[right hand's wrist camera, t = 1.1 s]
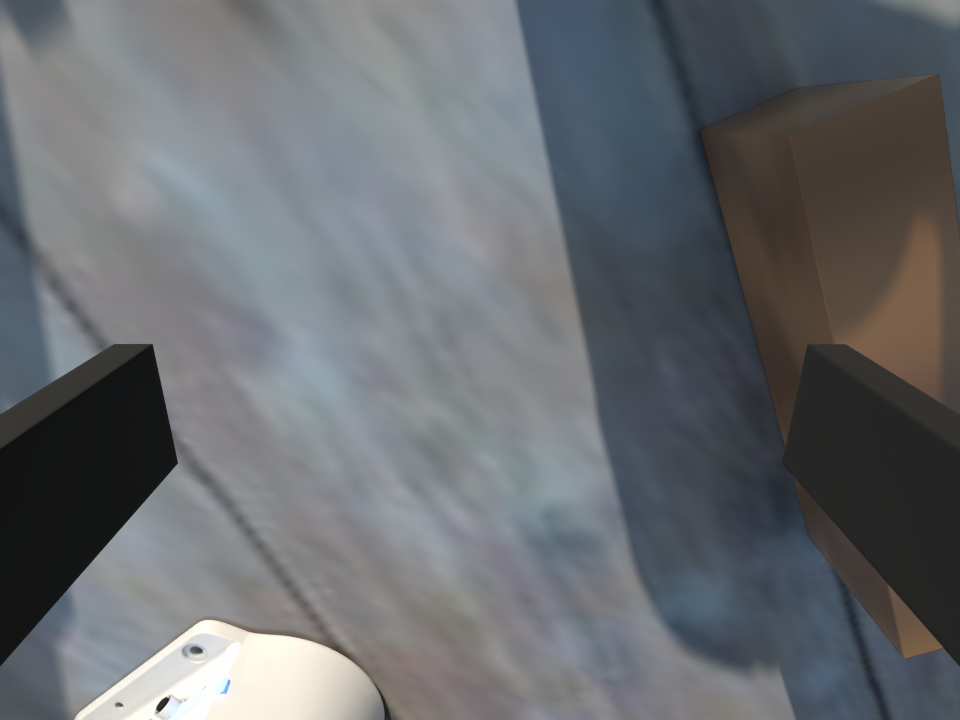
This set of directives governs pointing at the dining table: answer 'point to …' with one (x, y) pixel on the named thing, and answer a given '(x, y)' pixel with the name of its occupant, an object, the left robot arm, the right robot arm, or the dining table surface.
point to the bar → (847, 260)
